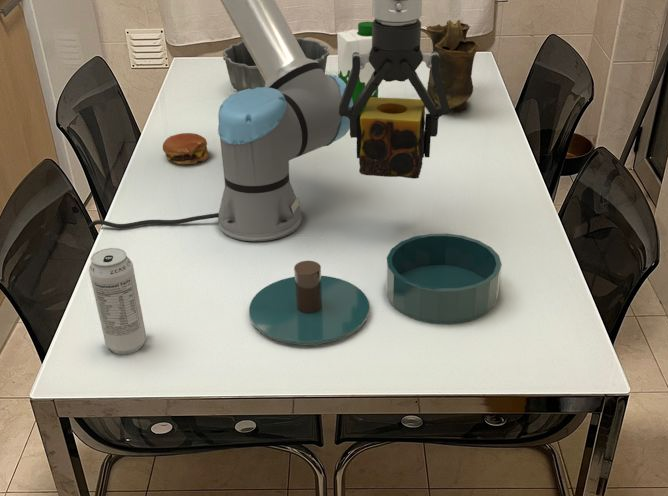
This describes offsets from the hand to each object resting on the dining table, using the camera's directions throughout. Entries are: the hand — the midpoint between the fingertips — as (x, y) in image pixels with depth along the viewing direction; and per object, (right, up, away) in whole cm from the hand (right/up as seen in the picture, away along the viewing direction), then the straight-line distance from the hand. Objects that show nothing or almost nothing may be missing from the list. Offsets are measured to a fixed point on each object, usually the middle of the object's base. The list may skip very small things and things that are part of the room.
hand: (392, 154), depth 141 cm
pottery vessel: (+18, +25, +59) cm, 66 cm away
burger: (-41, +8, +38) cm, 57 cm away
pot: (+7, -24, -7) cm, 26 cm away
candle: (0, -2, +1) cm, 2 cm away
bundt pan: (-24, +33, +71) cm, 81 cm away
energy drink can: (-41, -32, -17) cm, 55 cm away
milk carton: (-4, +23, +57) cm, 62 cm away
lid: (-14, -27, -11) cm, 32 cm away
